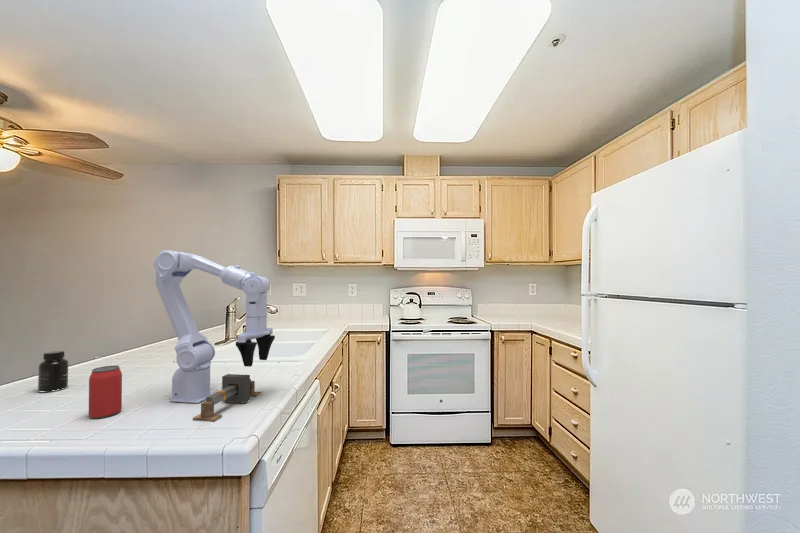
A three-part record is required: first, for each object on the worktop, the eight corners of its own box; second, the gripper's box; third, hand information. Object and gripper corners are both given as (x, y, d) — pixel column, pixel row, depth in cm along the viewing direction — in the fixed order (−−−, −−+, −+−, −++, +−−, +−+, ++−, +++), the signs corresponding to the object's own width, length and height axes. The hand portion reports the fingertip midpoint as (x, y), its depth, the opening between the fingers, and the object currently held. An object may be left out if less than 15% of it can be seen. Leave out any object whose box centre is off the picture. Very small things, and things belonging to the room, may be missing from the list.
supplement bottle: (71, 388, 113) (71, 351, 113) (41, 394, 107) (42, 355, 107) (64, 385, 116) (64, 349, 117) (35, 390, 111) (36, 353, 111)
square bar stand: (192, 420, 86) (192, 399, 86) (243, 392, 106) (243, 375, 106) (214, 421, 85) (214, 400, 85) (261, 393, 105) (261, 376, 105)
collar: (222, 401, 97) (222, 376, 98) (227, 398, 100) (227, 374, 100) (244, 402, 96) (244, 377, 96) (249, 399, 98) (249, 374, 99)
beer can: (94, 421, 86) (94, 372, 86) (84, 416, 89) (85, 369, 90) (125, 412, 92) (126, 366, 92) (115, 407, 95) (116, 363, 95)
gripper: (254, 319, 94) (253, 370, 94) (281, 314, 109) (281, 357, 108) (231, 319, 96) (230, 368, 95) (261, 313, 110) (260, 356, 110)
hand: (255, 362), depth 102 cm, fingers open, 7 cm apart
